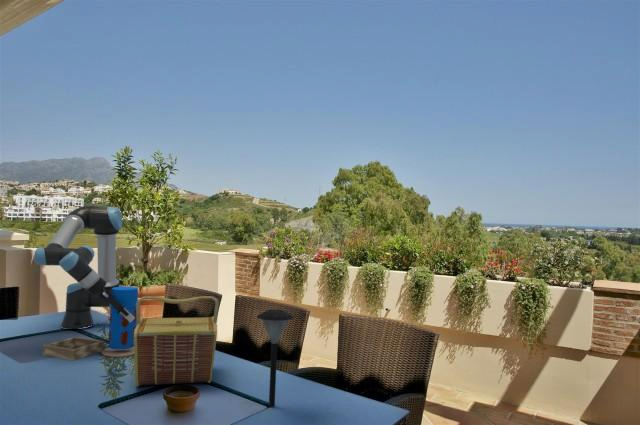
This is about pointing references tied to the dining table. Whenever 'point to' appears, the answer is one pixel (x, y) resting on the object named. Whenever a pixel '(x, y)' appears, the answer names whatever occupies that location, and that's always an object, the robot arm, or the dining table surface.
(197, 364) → the picnic basket
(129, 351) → the saucer
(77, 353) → the square frame
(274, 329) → the solar garden light
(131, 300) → the thermos
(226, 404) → the dining table surface
